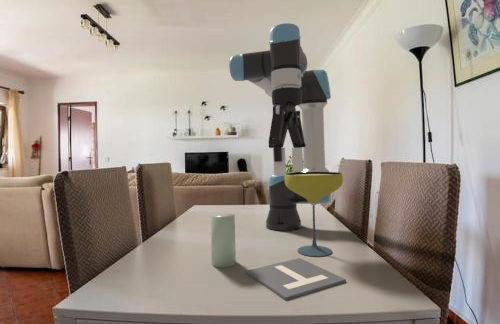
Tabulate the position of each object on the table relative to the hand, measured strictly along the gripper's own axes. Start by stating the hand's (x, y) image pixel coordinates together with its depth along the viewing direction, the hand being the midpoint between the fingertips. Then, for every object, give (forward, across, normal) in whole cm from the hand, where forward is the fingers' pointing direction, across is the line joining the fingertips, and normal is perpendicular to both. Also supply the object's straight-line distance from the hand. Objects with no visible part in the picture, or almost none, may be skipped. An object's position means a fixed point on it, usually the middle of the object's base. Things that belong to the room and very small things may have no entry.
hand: (289, 173), depth 77 cm
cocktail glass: (+27, +22, 0) cm, 35 cm away
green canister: (+26, +1, +22) cm, 34 cm away
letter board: (+26, 0, 0) cm, 26 cm away
